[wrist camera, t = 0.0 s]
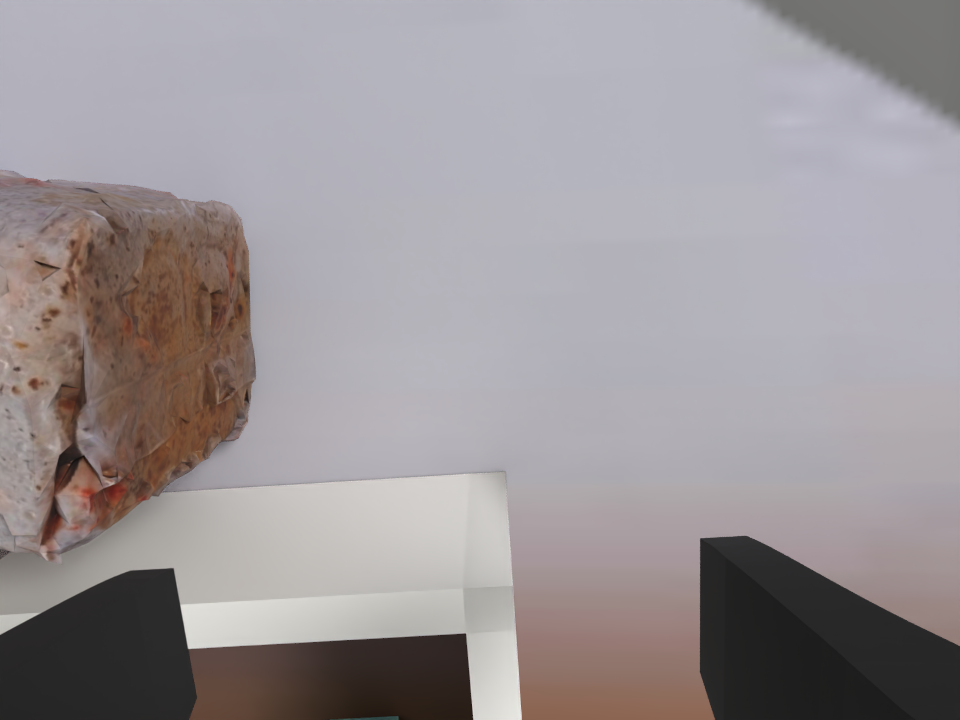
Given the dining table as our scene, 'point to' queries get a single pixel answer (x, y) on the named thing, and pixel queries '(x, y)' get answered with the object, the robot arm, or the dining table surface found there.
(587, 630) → the dining table surface
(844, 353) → the dining table surface
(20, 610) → the open folding screen
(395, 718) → the teal block
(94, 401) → the food item
